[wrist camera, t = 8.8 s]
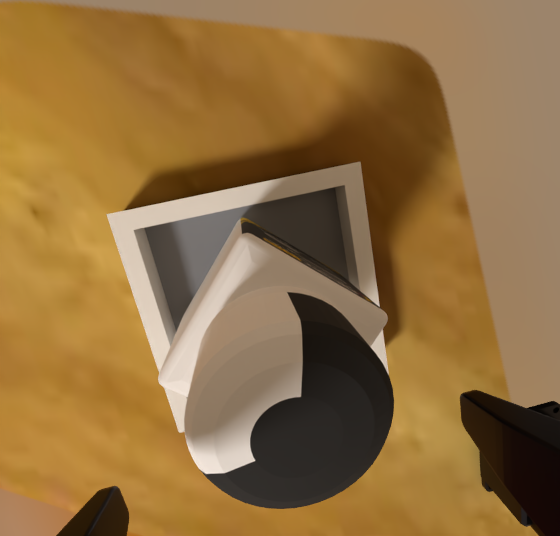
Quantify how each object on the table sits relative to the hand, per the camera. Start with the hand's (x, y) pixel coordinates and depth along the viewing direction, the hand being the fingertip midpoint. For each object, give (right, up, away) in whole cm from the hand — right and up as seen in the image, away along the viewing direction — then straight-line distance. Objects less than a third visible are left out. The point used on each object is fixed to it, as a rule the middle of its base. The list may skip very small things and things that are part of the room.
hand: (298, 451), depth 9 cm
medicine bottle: (-2, +3, +12) cm, 13 cm away
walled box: (-2, +3, +12) cm, 13 cm away
